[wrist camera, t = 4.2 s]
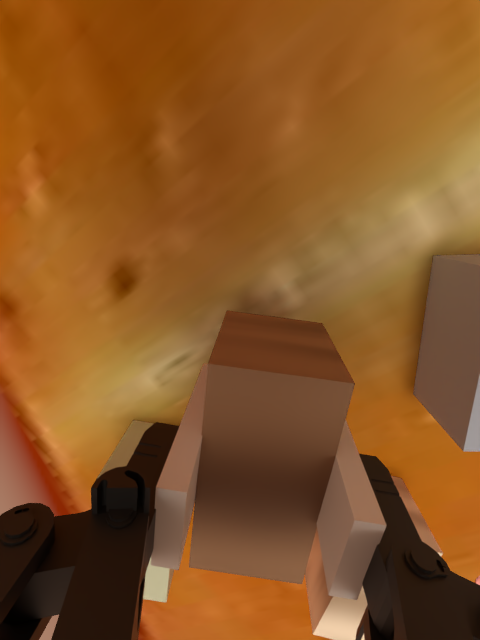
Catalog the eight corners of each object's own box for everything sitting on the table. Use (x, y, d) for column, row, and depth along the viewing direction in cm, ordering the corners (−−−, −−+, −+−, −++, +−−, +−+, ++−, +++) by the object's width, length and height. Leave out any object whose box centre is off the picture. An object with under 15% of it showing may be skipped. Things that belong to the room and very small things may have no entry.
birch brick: (341, 461, 21) (366, 533, 16) (400, 476, 21) (442, 553, 16) (301, 548, 23) (312, 634, 18) (355, 562, 23) (379, 650, 19)
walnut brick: (227, 310, 14) (208, 363, 9) (322, 323, 13) (354, 383, 9) (210, 462, 16) (188, 567, 11) (290, 474, 16) (302, 584, 11)
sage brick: (133, 418, 21) (96, 479, 16) (195, 428, 21) (177, 491, 16) (129, 514, 23) (96, 591, 18) (185, 522, 23) (166, 602, 18)
